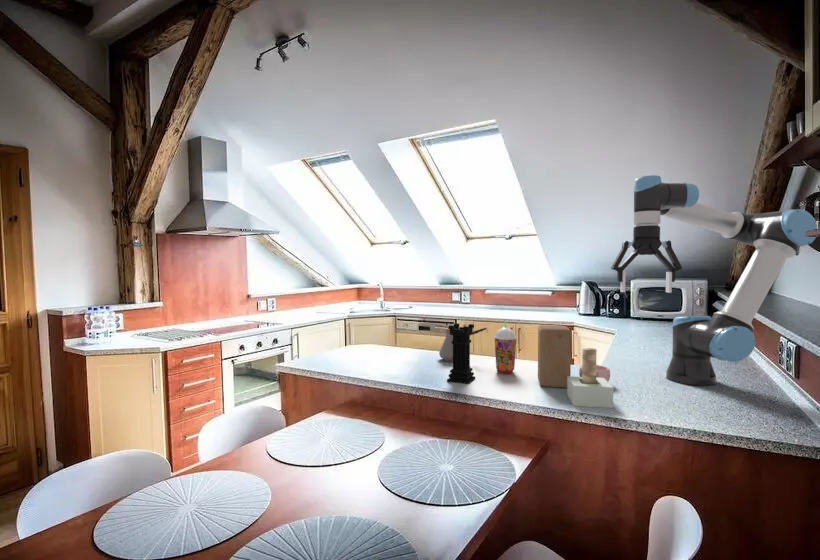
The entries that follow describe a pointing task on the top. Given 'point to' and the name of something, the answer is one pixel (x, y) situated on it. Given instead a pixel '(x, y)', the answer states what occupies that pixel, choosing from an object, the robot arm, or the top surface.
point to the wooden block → (554, 355)
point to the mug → (599, 372)
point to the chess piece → (461, 354)
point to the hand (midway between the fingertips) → (645, 292)
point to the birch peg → (589, 366)
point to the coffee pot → (451, 346)
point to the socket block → (590, 393)
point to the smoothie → (505, 350)
